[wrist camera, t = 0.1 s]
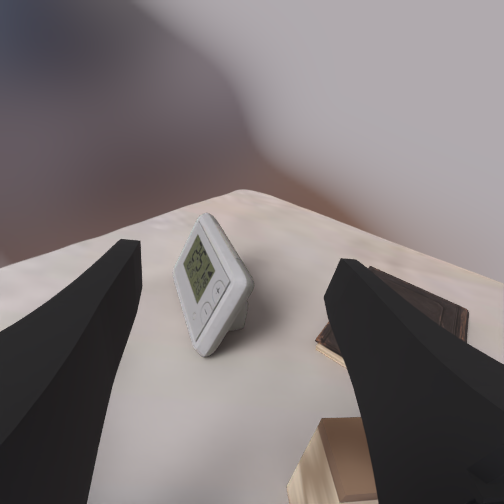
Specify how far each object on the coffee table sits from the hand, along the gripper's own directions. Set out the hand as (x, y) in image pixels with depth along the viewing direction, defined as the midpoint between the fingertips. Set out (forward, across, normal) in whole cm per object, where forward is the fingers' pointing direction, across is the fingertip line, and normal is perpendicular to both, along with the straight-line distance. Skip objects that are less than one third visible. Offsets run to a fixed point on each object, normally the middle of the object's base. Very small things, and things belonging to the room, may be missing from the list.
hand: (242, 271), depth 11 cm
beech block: (-3, -10, +21) cm, 24 cm away
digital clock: (+19, 0, +23) cm, 30 cm away
